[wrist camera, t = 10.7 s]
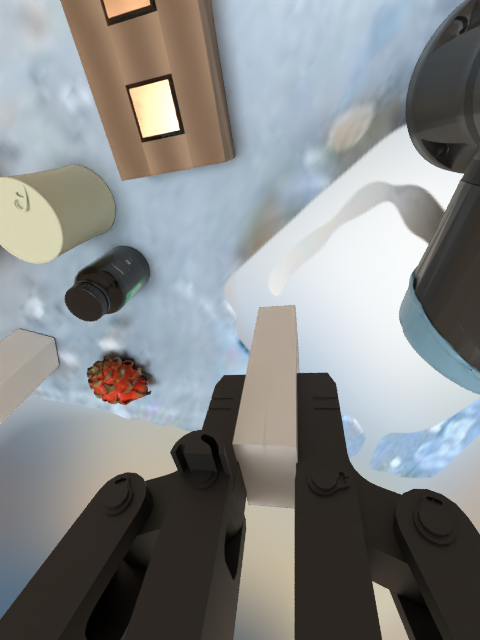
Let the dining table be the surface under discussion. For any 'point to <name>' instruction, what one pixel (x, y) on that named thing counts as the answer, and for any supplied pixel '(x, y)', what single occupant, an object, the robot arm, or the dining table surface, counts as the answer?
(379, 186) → the dining table surface
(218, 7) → the dining table surface
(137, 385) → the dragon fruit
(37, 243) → the can
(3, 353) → the milk carton
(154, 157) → the socket block
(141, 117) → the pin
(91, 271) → the supplement bottle
